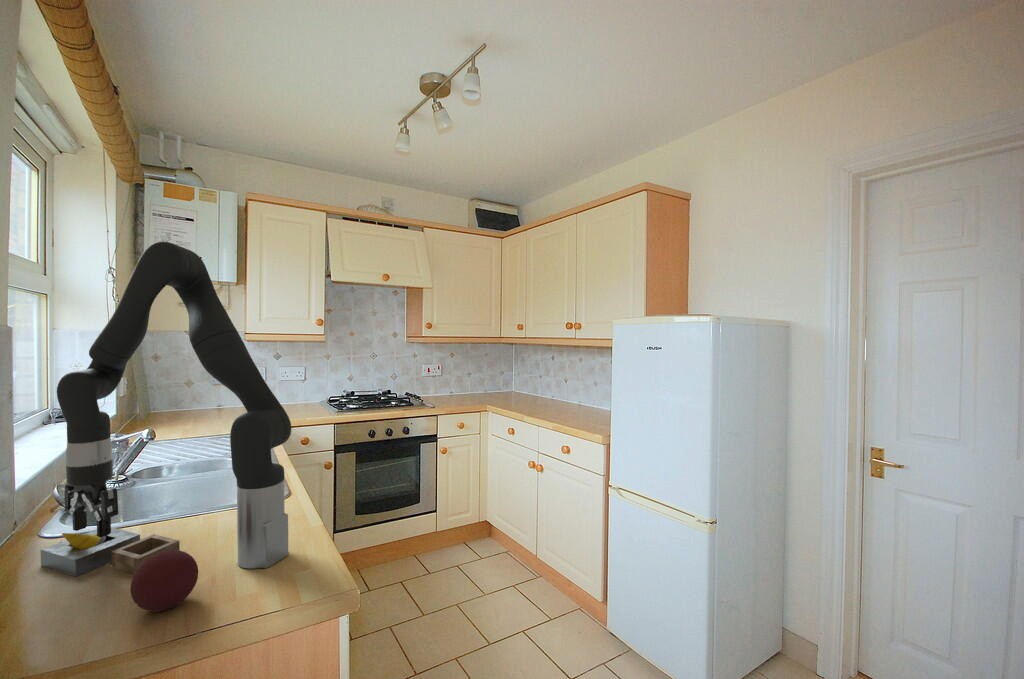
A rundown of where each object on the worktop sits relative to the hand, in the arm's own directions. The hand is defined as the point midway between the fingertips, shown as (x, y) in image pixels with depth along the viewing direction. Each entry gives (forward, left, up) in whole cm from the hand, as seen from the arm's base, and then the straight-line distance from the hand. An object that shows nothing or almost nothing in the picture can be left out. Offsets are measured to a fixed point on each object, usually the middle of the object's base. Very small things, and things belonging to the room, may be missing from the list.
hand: (91, 532), depth 101 cm
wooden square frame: (-13, -3, -6) cm, 14 cm away
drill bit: (0, +1, -6) cm, 6 cm away
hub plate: (0, 0, -6) cm, 6 cm away
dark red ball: (-33, +6, -6) cm, 34 cm away
